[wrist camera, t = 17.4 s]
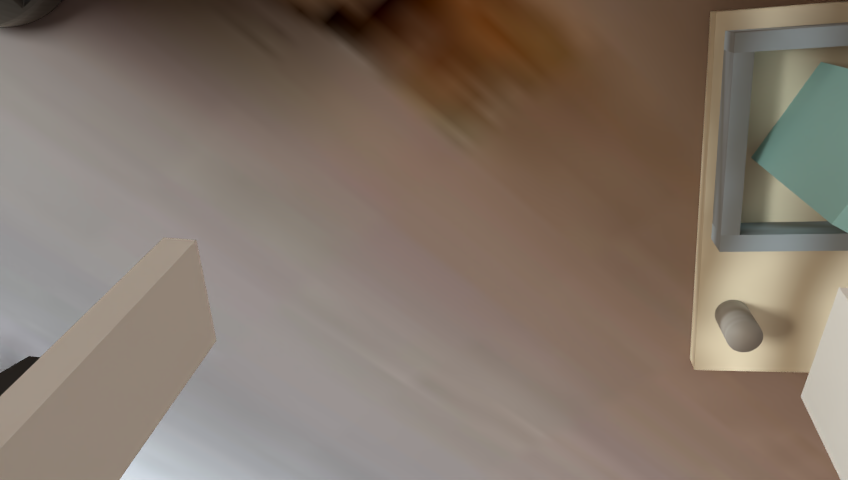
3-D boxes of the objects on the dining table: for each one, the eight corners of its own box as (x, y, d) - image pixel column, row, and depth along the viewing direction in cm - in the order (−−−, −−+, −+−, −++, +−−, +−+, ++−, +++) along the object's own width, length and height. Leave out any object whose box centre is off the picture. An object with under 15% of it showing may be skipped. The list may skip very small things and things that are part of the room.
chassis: (690, 358, 45) (703, 395, 40) (710, 11, 37) (729, 13, 33) (908, 362, 42) (947, 402, 38) (975, -9, 35) (1032, -10, 31)
